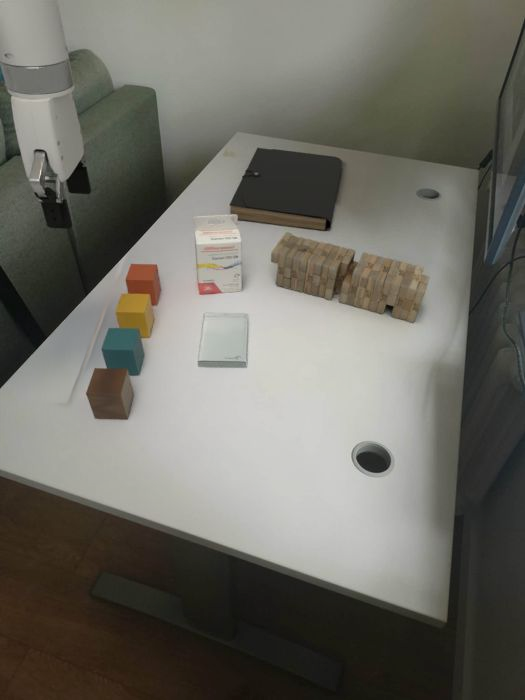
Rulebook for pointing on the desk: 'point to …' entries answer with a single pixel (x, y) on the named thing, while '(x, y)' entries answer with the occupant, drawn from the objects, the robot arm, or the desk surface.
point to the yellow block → (135, 313)
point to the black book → (288, 189)
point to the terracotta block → (144, 281)
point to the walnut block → (110, 393)
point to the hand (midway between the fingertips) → (70, 209)
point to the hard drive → (223, 340)
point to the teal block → (123, 349)
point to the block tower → (349, 276)
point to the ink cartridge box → (218, 254)
